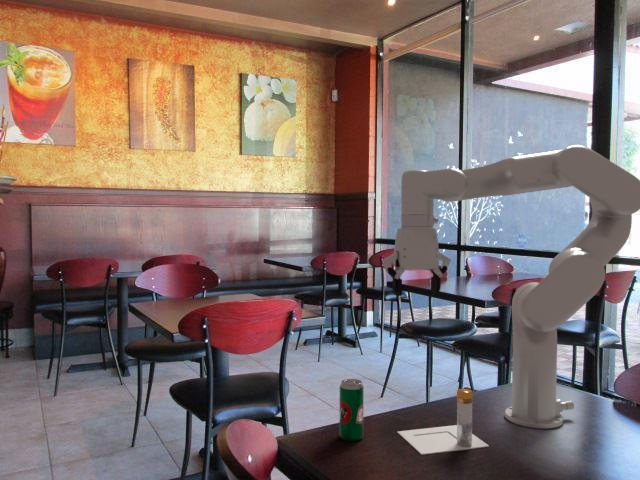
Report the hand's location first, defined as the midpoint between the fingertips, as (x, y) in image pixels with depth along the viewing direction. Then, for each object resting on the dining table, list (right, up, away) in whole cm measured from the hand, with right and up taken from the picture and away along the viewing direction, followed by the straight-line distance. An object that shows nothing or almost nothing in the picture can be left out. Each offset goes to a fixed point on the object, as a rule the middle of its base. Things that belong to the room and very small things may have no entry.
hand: (416, 294), depth 134 cm
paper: (+3, -29, -16) cm, 33 cm away
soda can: (-16, -29, -15) cm, 37 cm away
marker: (+7, -29, -19) cm, 35 cm away
